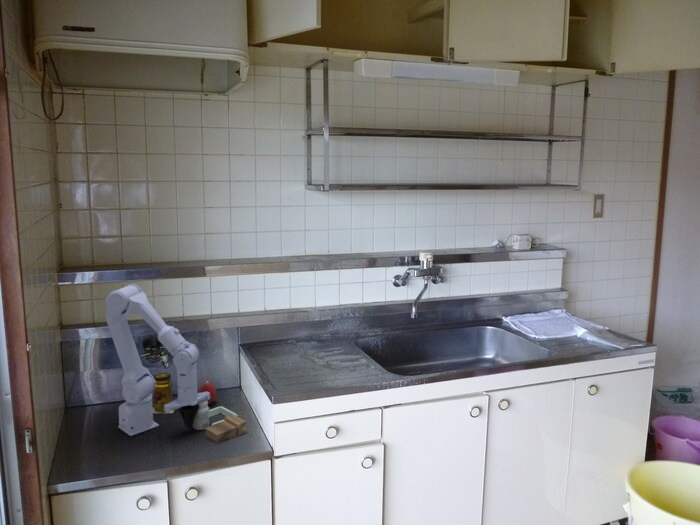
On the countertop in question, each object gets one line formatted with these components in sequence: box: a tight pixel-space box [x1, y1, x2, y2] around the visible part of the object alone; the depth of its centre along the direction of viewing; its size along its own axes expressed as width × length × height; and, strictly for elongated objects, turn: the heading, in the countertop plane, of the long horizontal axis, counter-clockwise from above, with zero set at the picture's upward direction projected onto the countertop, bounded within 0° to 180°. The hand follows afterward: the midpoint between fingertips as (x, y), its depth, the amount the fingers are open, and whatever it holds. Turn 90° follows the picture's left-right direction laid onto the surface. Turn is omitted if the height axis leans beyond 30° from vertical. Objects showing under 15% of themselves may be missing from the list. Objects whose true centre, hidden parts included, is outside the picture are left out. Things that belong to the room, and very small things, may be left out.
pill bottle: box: [192, 399, 210, 431], centre depth 183 cm, size 5×5×8 cm
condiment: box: [152, 372, 175, 414], centre depth 195 cm, size 7×8×12 cm
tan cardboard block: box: [204, 421, 238, 444], centre depth 178 cm, size 7×6×3 cm
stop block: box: [224, 414, 247, 436], centre depth 182 cm, size 3×7×4 cm, turn 47°
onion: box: [198, 380, 217, 405], centre depth 199 cm, size 6×6×8 cm
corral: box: [209, 405, 240, 426], centre depth 188 cm, size 10×10×2 cm
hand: (188, 427), depth 180 cm, fingers closed
